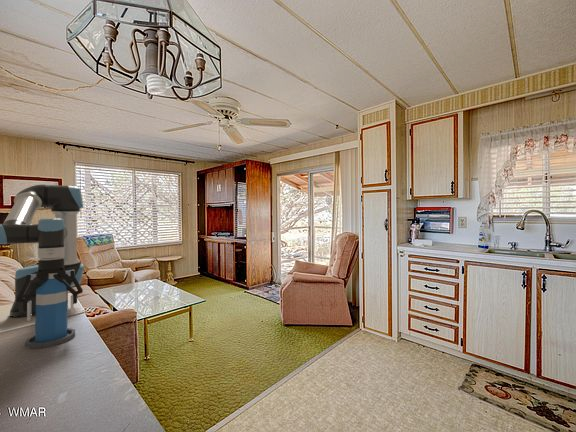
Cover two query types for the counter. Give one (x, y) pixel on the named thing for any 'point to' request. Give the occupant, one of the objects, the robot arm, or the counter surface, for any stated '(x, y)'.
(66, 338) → the coaster ring
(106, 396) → the counter surface
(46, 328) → the water bottle
